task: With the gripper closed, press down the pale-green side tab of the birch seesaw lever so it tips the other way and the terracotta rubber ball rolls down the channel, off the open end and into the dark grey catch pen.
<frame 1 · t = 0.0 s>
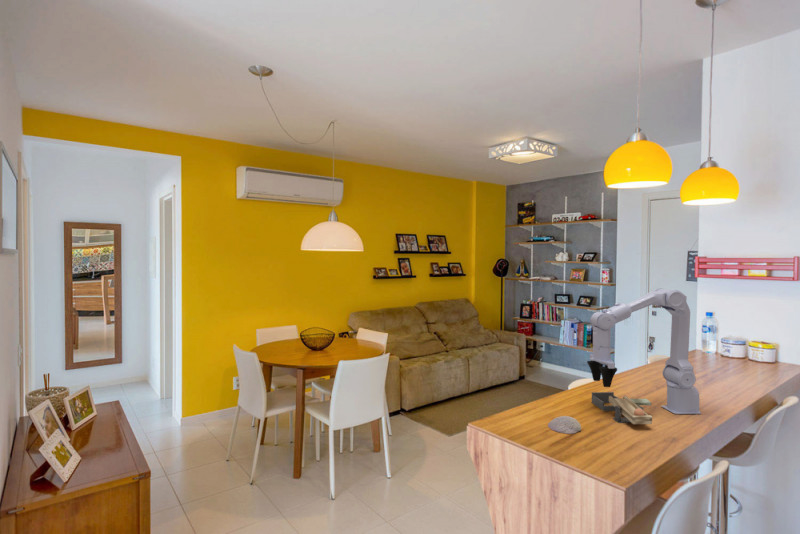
hand: (601, 383, 155), 10 cm above the worktop, fingers open, 7 cm apart
catch pen: (608, 406, 160), on the worktop
lever: (639, 408, 146), point 4 cm above the worktop, hinge at -8.0°, touching ball
pivot stand: (629, 420, 146), on the worktop
seashell: (564, 429, 141), on the worktop
ball: (639, 413, 140), point 5 cm above the worktop, touching lever
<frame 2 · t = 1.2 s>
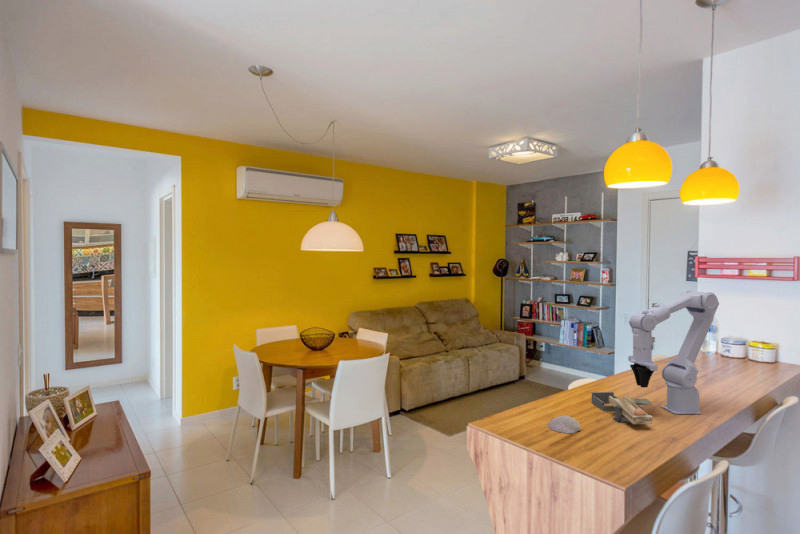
hand: (642, 386, 152), 10 cm above the worktop, fingers closed
nothing on the worktop moved.
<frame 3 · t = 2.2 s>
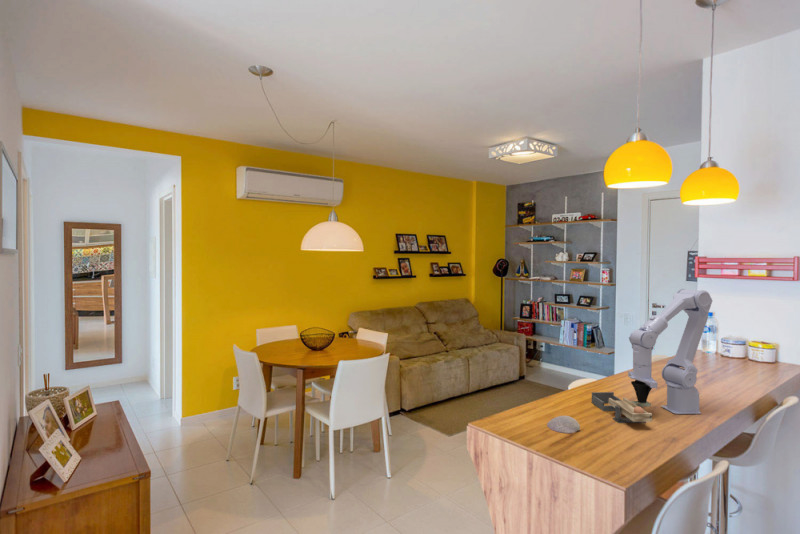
hand: (642, 402, 152), 4 cm above the worktop, fingers closed, pressing on lever
lever: (639, 408, 146), point 4 cm above the worktop, hinge at -2.0°, touching ball, gripper
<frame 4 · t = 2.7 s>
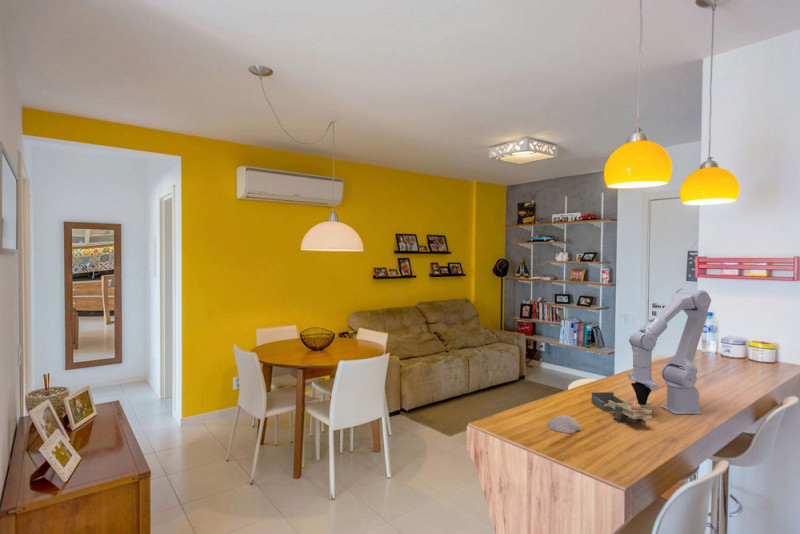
hand: (642, 404, 152), 3 cm above the worktop, fingers closed, pressing on lever
lever: (639, 408, 146), point 4 cm above the worktop, hinge at 4.5°, touching ball, gripper
ball: (636, 407, 142), point 6 cm above the worktop, tilted 57°, touching lever
everything else where it was.
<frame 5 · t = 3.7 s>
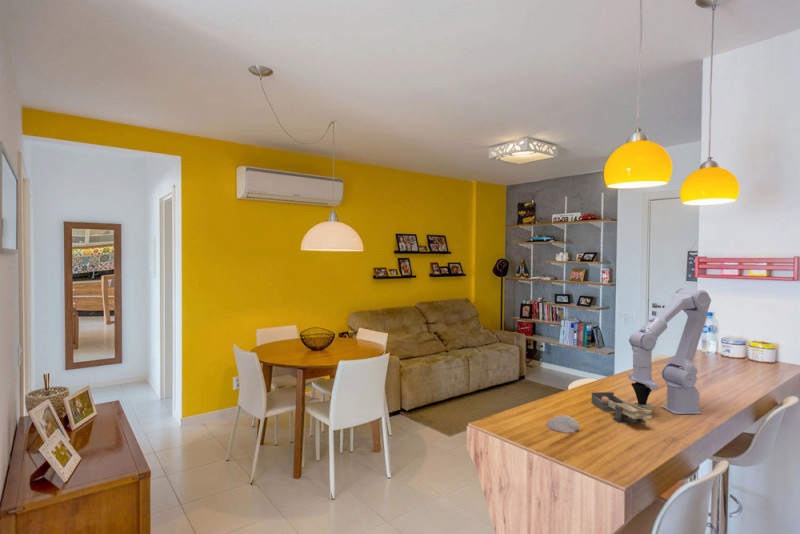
hand: (642, 404, 152), 3 cm above the worktop, fingers closed, pressing on lever
lever: (639, 408, 146), point 4 cm above the worktop, hinge at 4.7°, touching gripper
ball: (605, 400, 163), point 1 cm above the worktop, tilted 153°
everything else where it was.
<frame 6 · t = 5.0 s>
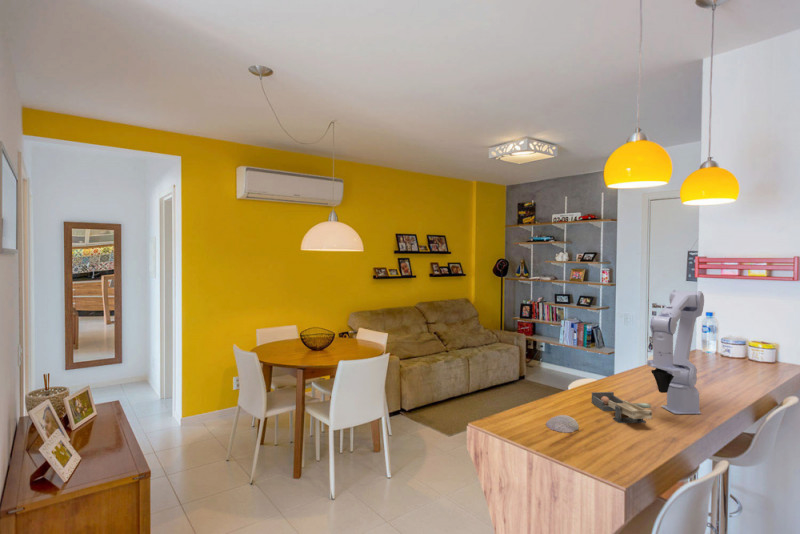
hand: (663, 392, 145), 10 cm above the worktop, fingers closed
lever: (639, 408, 146), point 4 cm above the worktop, hinge at 4.7°
everything else where it was.
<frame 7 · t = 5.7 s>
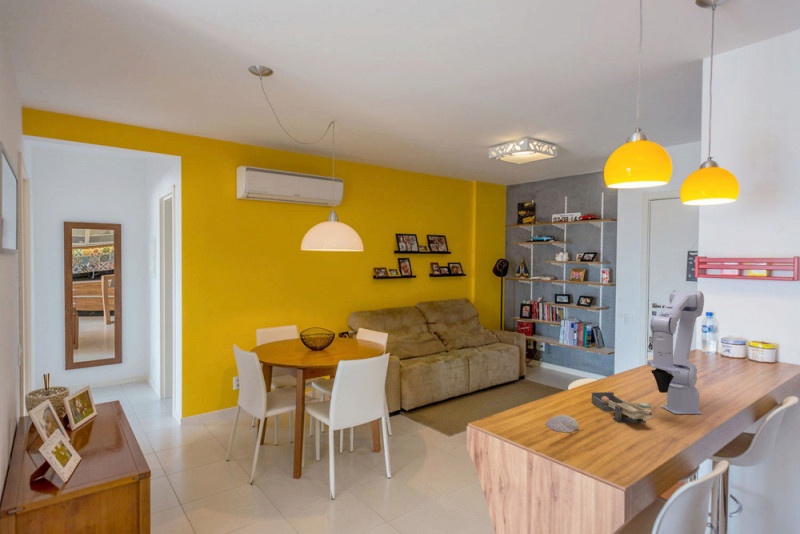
hand: (663, 392, 145), 10 cm above the worktop, fingers closed
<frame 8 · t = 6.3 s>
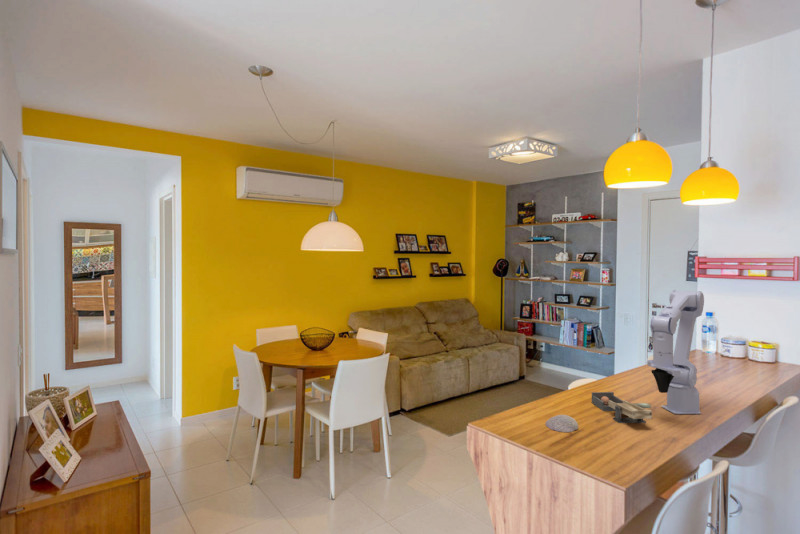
hand: (663, 392, 145), 10 cm above the worktop, fingers closed
at the end: ball inside the target area on the catch pen (2.5 cm from its centre), point 1.5 cm above the catch pen's base; ball point 1.5 cm above the worktop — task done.
